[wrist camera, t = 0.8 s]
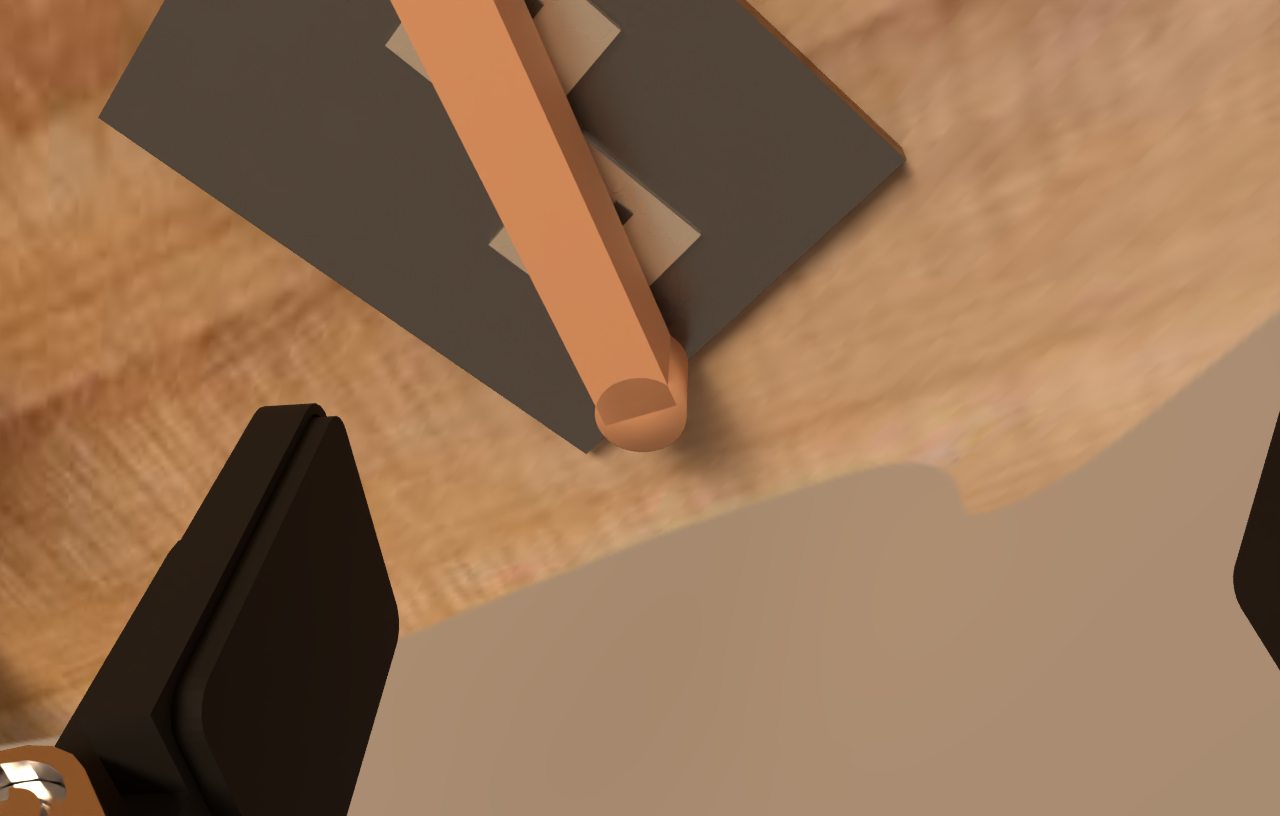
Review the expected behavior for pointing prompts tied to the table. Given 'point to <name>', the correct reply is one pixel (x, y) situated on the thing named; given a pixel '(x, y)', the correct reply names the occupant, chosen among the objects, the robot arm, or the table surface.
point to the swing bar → (555, 210)
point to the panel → (452, 190)
